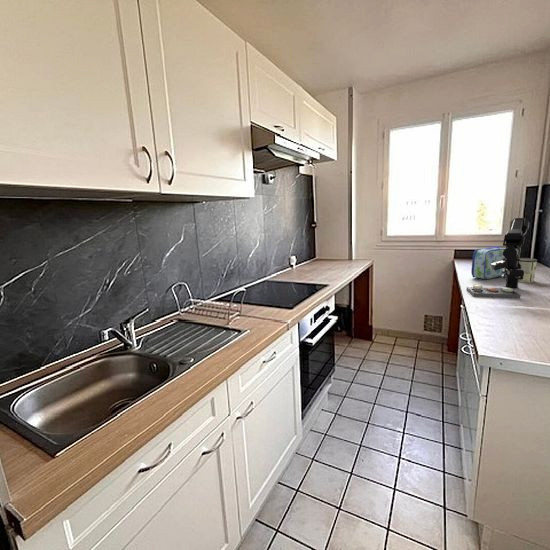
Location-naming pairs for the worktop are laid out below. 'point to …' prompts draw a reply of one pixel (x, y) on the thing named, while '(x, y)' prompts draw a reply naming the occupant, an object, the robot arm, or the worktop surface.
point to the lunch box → (486, 262)
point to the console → (493, 293)
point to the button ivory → (477, 287)
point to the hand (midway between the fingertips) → (508, 285)
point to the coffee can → (528, 269)
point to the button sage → (507, 290)
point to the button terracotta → (492, 289)
